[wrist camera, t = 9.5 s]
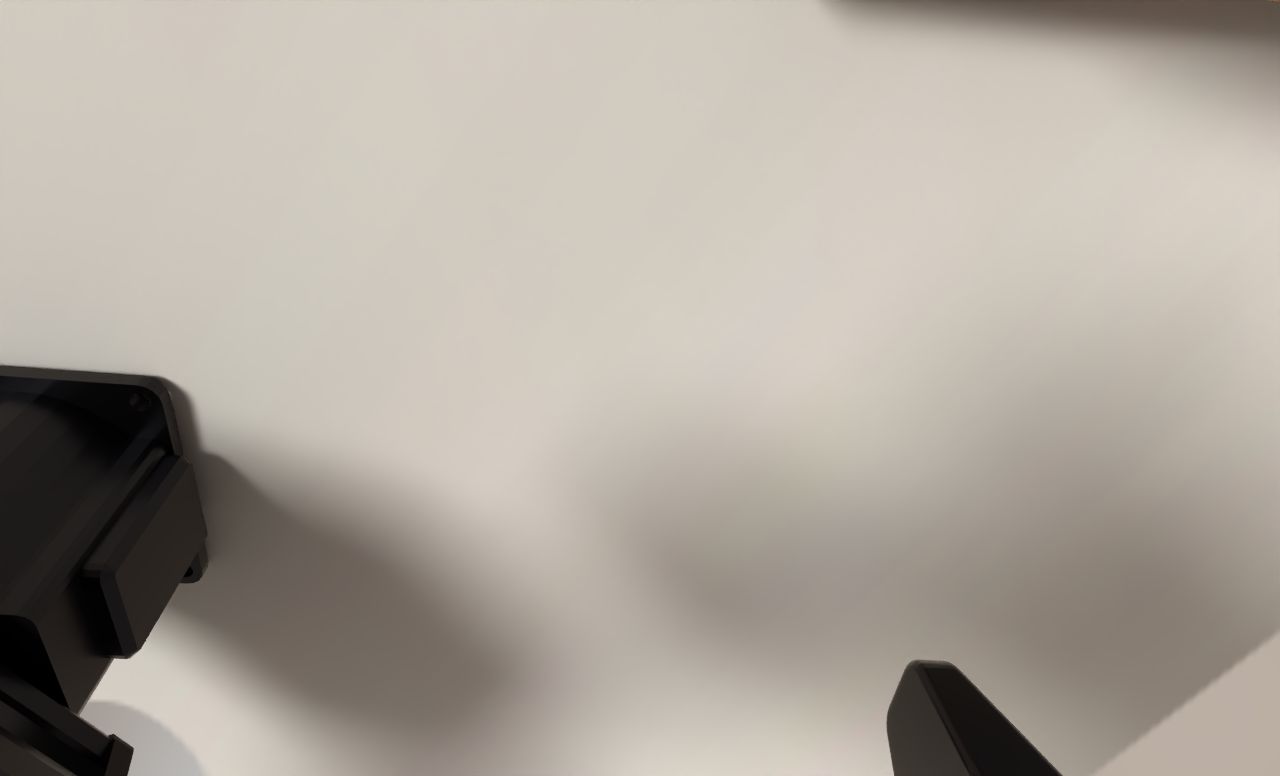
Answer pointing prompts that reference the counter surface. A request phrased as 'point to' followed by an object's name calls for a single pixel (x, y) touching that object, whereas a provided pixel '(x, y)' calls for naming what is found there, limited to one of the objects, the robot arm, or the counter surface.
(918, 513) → the counter surface
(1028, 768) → the robot arm
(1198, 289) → the counter surface
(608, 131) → the counter surface
